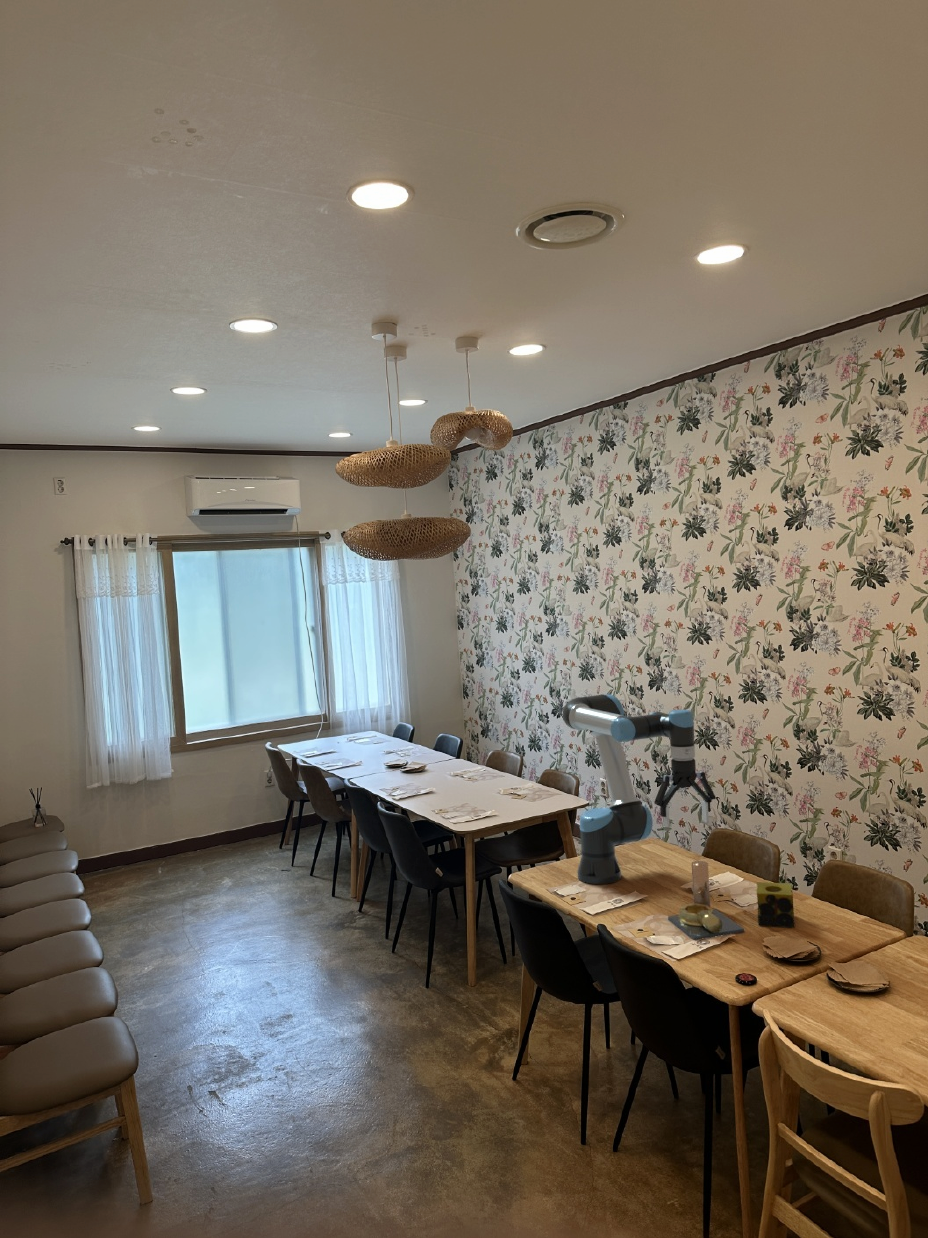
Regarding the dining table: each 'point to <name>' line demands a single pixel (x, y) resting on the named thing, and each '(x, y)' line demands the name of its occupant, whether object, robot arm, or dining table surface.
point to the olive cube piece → (775, 904)
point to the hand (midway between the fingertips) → (686, 824)
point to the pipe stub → (700, 883)
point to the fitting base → (704, 931)
